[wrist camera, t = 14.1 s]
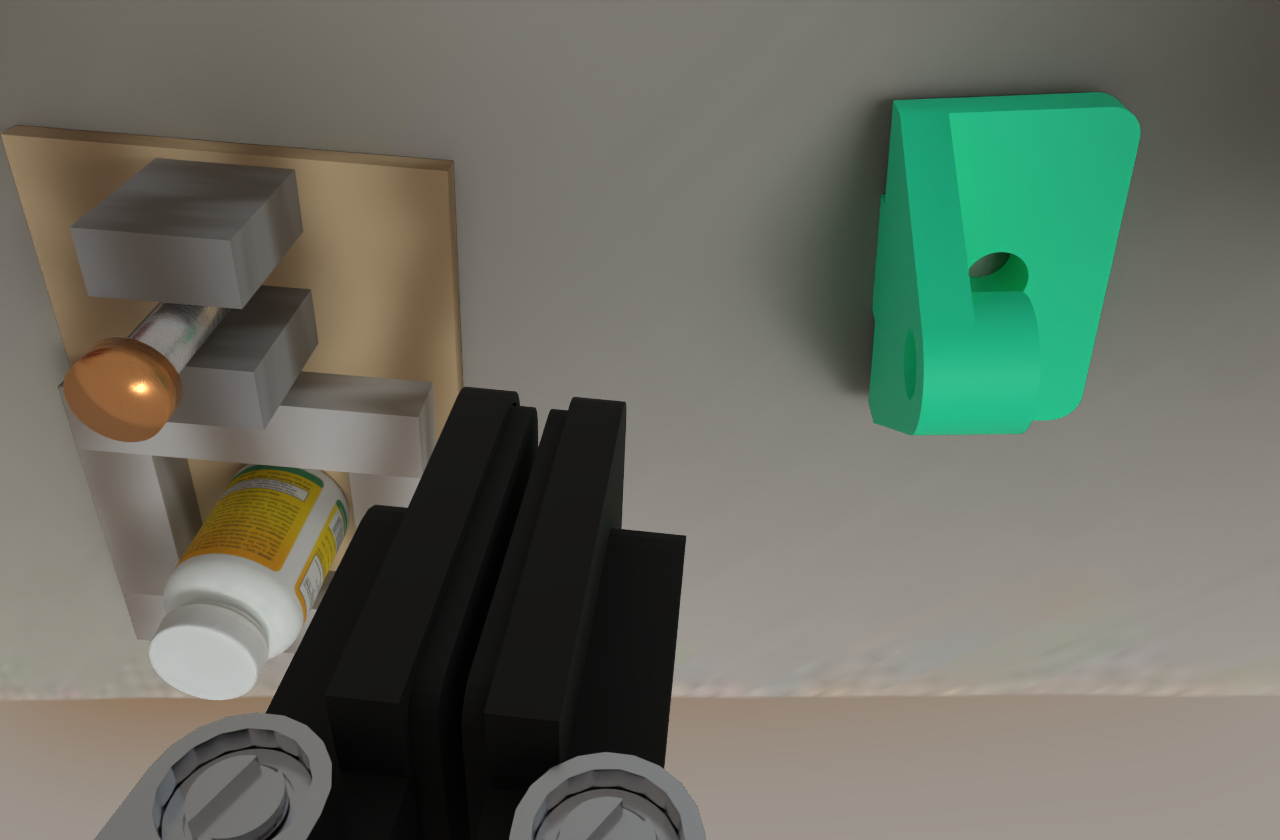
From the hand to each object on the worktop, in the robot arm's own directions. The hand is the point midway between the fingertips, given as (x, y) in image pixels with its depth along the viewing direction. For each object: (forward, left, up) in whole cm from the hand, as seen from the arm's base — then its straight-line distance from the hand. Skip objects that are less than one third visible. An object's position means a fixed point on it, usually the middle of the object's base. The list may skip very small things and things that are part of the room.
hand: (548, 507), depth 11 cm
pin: (+15, +11, -25) cm, 31 cm away
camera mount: (-13, +9, -27) cm, 31 cm away
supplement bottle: (+15, +23, -26) cm, 38 cm away
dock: (+15, +18, -27) cm, 36 cm away
